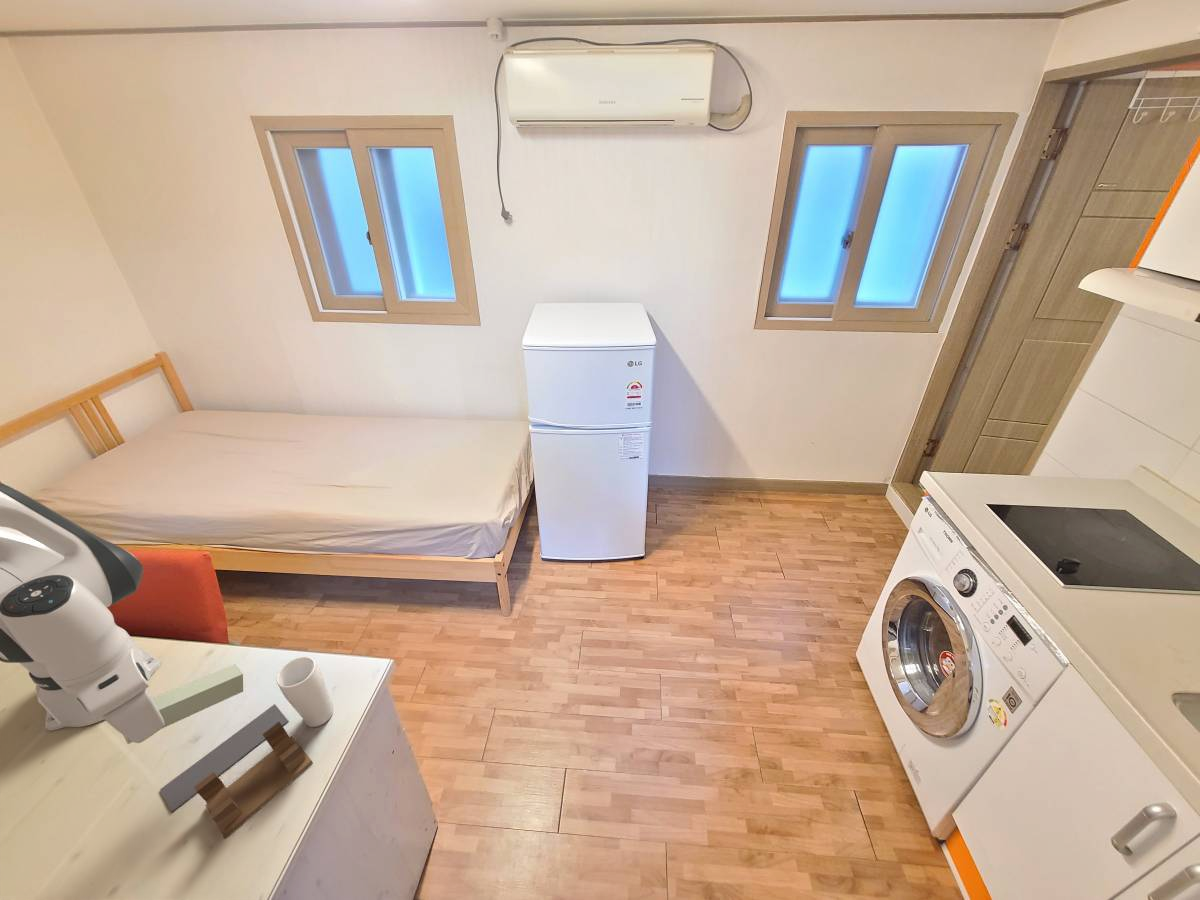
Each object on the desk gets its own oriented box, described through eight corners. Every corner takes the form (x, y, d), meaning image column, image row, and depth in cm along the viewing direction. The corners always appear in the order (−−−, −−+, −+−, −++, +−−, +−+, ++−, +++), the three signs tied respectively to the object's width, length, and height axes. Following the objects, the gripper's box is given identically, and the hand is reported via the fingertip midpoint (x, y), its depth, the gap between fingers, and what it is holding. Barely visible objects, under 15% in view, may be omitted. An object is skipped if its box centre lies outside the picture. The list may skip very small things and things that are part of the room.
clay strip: (127, 744, 78) (125, 724, 77) (121, 731, 80) (119, 712, 79) (243, 691, 91) (242, 673, 90) (235, 681, 93) (234, 664, 92)
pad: (160, 790, 89) (160, 789, 89) (275, 704, 102) (274, 703, 102) (172, 812, 86) (171, 811, 86) (288, 721, 99) (288, 720, 99)
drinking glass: (332, 693, 104) (310, 649, 97) (342, 716, 100) (320, 672, 92) (298, 714, 101) (272, 669, 93) (306, 739, 96) (280, 695, 88)
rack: (207, 807, 86) (190, 789, 83) (293, 737, 97) (281, 719, 93) (225, 838, 82) (208, 821, 79) (312, 762, 93) (301, 744, 89)
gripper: (56, 646, 77) (105, 697, 84) (92, 720, 66) (144, 771, 73) (108, 619, 81) (149, 670, 88) (149, 685, 70) (192, 736, 78)
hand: (147, 717), depth 81 cm, fingers closed on clay strip, 3 cm apart
